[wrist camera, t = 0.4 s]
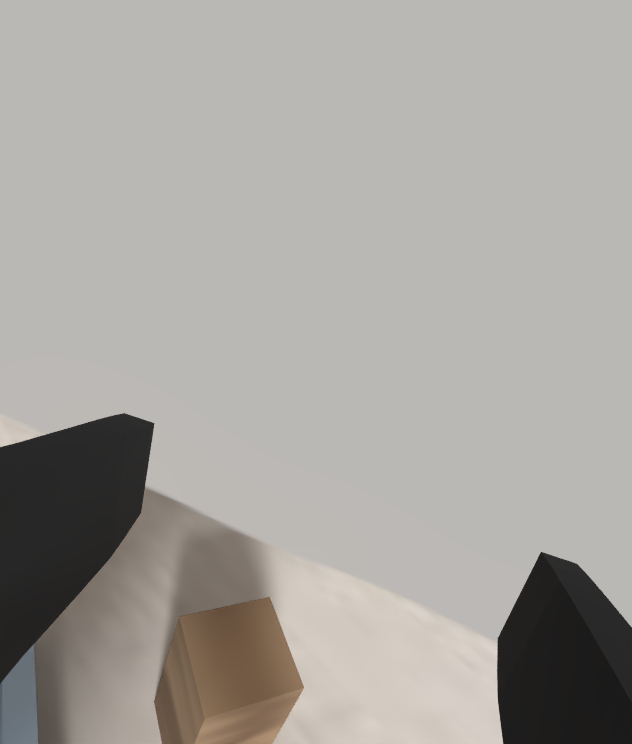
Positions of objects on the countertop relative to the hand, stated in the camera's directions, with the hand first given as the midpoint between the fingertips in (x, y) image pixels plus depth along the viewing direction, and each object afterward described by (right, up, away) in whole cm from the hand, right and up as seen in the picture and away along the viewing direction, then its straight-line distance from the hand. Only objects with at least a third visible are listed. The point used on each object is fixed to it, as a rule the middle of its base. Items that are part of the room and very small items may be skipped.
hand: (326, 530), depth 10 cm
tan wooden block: (-5, -14, +16) cm, 22 cm away
